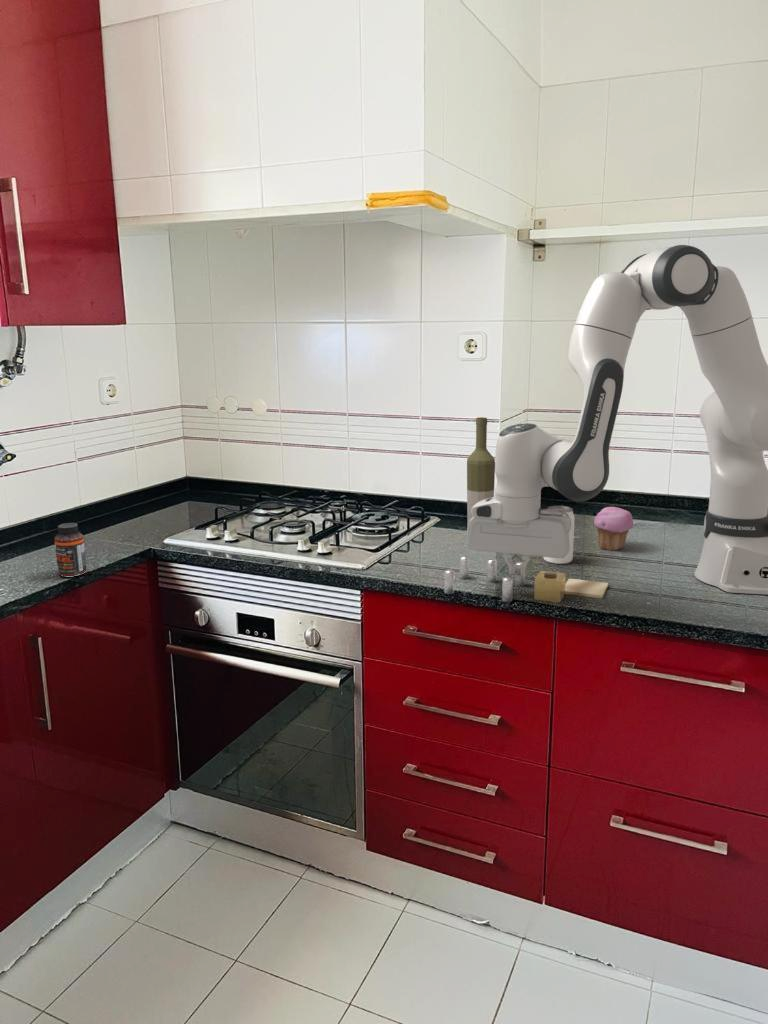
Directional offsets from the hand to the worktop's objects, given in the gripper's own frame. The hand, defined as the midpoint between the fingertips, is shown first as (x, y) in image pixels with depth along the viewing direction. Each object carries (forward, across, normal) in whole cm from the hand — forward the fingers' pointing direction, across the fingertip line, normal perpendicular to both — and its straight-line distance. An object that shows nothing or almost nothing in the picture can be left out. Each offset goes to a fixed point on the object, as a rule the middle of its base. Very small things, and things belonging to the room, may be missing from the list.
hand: (517, 574), depth 157 cm
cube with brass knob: (+4, -7, 0) cm, 8 cm away
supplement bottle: (+2, +94, +24) cm, 97 cm away
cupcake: (+4, -14, -38) cm, 40 cm away
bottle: (+4, +18, -36) cm, 40 cm away
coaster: (+4, -12, -6) cm, 14 cm away
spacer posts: (+4, +7, 0) cm, 8 cm away
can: (+4, -4, -24) cm, 24 cm away
